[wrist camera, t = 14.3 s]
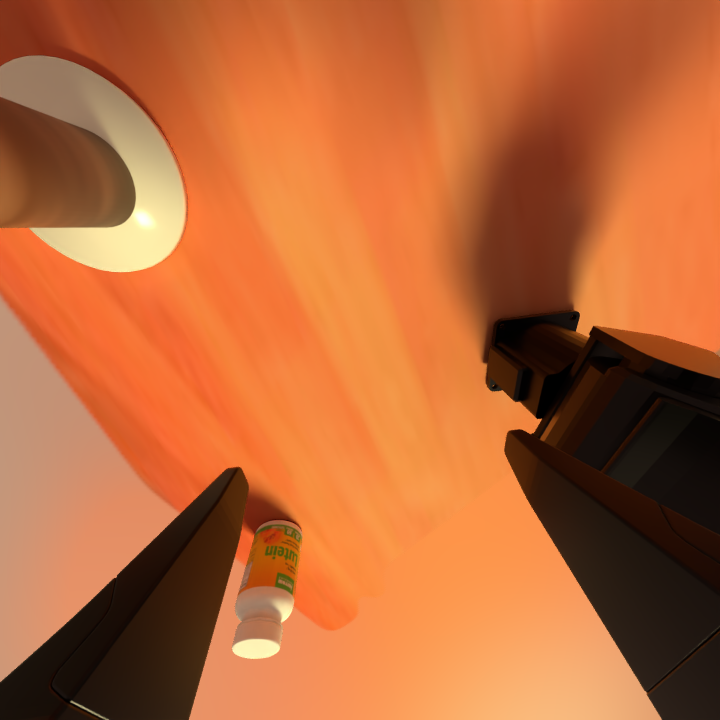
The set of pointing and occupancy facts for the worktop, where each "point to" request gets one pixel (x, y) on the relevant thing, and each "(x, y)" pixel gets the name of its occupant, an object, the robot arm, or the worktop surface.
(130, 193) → the walnut peg
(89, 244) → the cream disc
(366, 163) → the worktop surface
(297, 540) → the supplement bottle
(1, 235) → the worktop surface
